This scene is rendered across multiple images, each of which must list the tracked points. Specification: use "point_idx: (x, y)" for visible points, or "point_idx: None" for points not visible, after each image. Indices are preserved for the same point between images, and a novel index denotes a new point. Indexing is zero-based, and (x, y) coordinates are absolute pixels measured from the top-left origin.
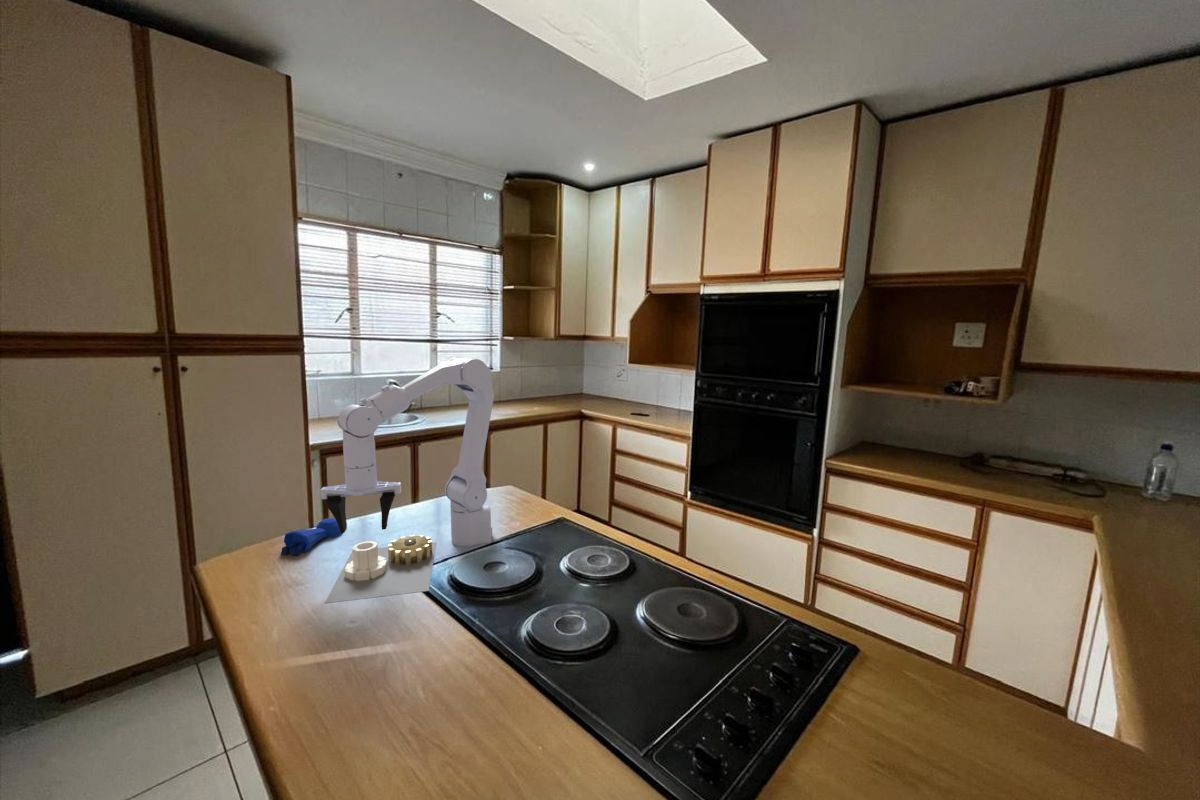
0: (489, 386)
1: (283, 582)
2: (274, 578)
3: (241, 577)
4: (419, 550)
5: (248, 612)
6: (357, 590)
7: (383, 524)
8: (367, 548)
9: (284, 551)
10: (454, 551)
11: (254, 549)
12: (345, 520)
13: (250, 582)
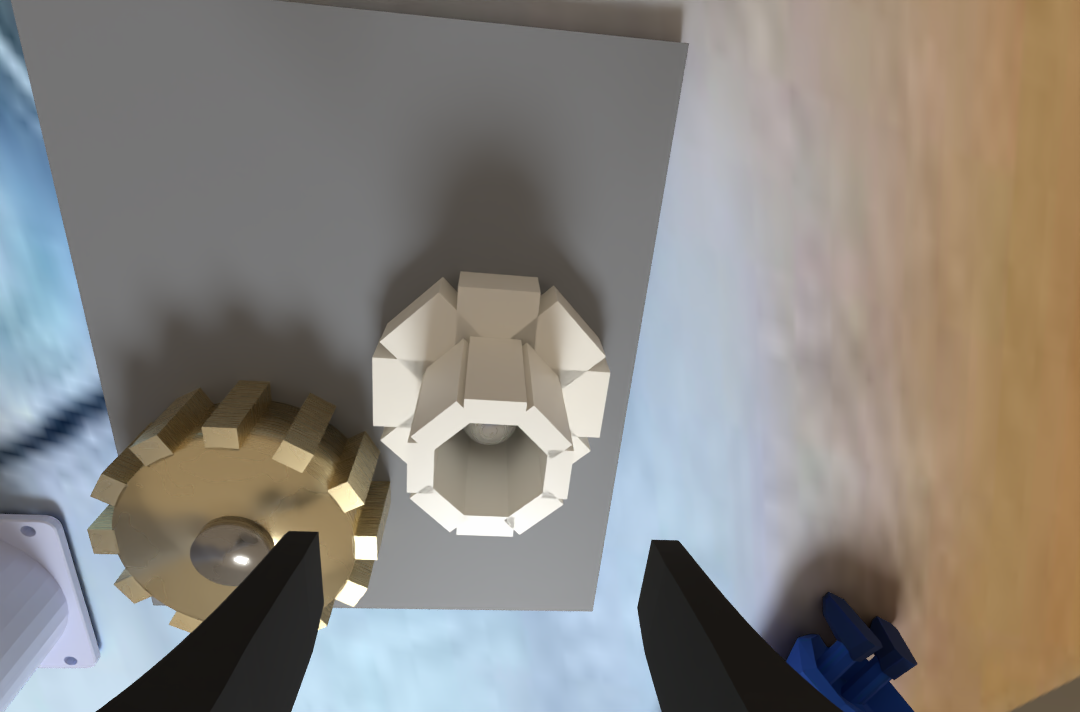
0: None
1: (886, 402)
2: (923, 451)
3: (1049, 496)
4: (144, 439)
5: (1051, 132)
6: (510, 150)
7: (279, 561)
8: (484, 488)
9: (897, 644)
10: (31, 507)
11: (986, 707)
12: (661, 675)
13: (1019, 441)
